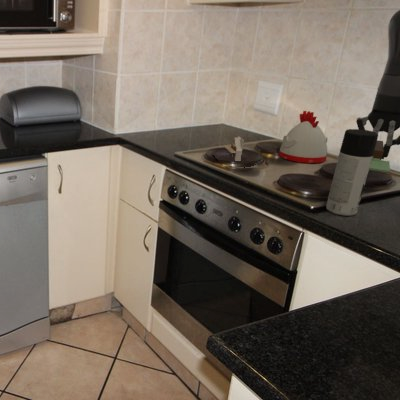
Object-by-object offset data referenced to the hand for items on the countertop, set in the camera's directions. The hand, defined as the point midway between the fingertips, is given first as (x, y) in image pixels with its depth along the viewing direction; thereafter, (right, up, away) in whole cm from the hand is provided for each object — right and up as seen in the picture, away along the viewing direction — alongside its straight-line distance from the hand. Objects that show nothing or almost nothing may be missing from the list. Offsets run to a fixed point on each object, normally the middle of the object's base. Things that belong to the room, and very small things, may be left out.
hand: (375, 157), depth 128 cm
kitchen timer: (-3, +3, +30) cm, 30 cm away
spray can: (-16, -15, -11) cm, 24 cm away
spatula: (-1, -1, -2) cm, 3 cm away
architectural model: (-27, +1, +27) cm, 38 cm away
